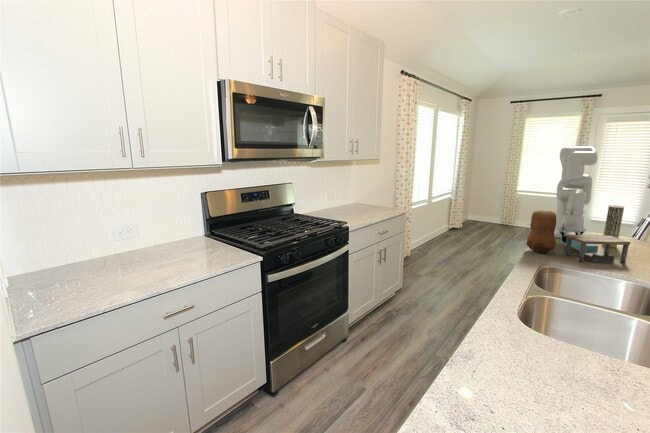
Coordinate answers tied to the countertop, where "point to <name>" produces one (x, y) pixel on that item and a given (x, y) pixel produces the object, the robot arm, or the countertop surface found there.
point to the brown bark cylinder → (613, 222)
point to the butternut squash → (542, 231)
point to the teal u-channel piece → (589, 247)
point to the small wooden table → (597, 240)
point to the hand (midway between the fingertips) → (569, 241)
